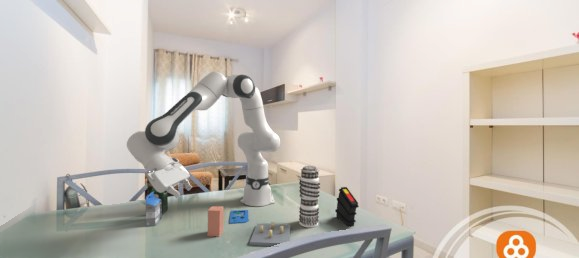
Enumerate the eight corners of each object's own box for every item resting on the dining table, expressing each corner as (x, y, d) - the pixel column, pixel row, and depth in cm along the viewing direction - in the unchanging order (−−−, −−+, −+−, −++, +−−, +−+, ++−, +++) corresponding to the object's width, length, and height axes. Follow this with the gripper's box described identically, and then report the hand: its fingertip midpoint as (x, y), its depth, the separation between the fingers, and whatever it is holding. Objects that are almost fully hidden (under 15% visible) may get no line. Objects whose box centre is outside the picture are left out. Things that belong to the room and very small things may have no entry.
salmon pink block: (211, 231, 97) (212, 206, 97) (223, 231, 97) (223, 206, 97) (207, 236, 93) (207, 210, 92) (219, 236, 92) (219, 210, 92)
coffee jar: (153, 208, 120) (153, 171, 120) (169, 208, 121) (170, 171, 121) (143, 216, 111) (144, 175, 110) (161, 215, 112) (162, 175, 111)
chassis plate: (257, 226, 102) (257, 217, 102) (290, 227, 102) (290, 218, 102) (249, 245, 86) (249, 235, 86) (288, 246, 86) (288, 236, 86)
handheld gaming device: (229, 222, 104) (231, 209, 119) (229, 224, 104) (231, 212, 119) (248, 221, 106) (248, 209, 121) (248, 223, 106) (248, 211, 121)
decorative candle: (293, 222, 107) (295, 166, 107) (308, 217, 113) (310, 164, 112) (308, 229, 100) (309, 169, 100) (323, 224, 106) (324, 167, 105)
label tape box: (155, 225, 101) (155, 196, 101) (144, 226, 100) (145, 197, 100) (162, 217, 109) (162, 190, 109) (152, 218, 109) (152, 191, 108)
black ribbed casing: (339, 210, 119) (346, 186, 112) (352, 232, 108) (361, 207, 101) (332, 211, 118) (339, 186, 111) (344, 233, 106) (354, 207, 100)
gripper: (150, 165, 85) (177, 194, 84) (179, 157, 105) (201, 180, 105) (137, 178, 85) (164, 206, 85) (168, 167, 105) (190, 190, 105)
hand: (185, 192), depth 95 cm, fingers open, 8 cm apart
